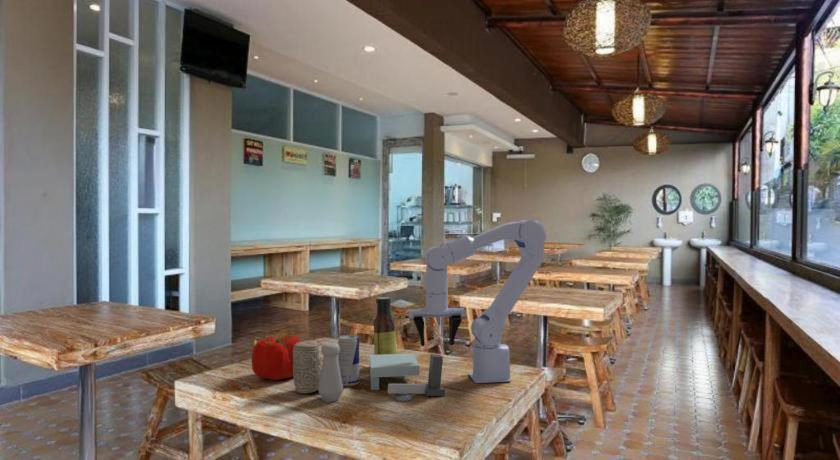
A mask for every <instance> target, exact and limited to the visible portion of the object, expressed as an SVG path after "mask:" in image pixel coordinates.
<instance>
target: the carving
mask: <svg viewBox="0 0 840 460" xmlns="http://www.w3.org/2000/svg"><path fill="white" fill-rule="evenodd" d="M294 346H295V347H294V348H293V349H294V350H293V377H292V378H293V382H294V383H293V385H294V387H295V388H294V389H295V391H296V392H297V393H299V394H310V393H314V392H316V391H319V390H318V387H319V381H320V376H321V370H322V364H321V356H320V346H319V343H318V342H317V341H315V340H303V341H300V342H298V343H296V344H295V345H294Z"/></svg>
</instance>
